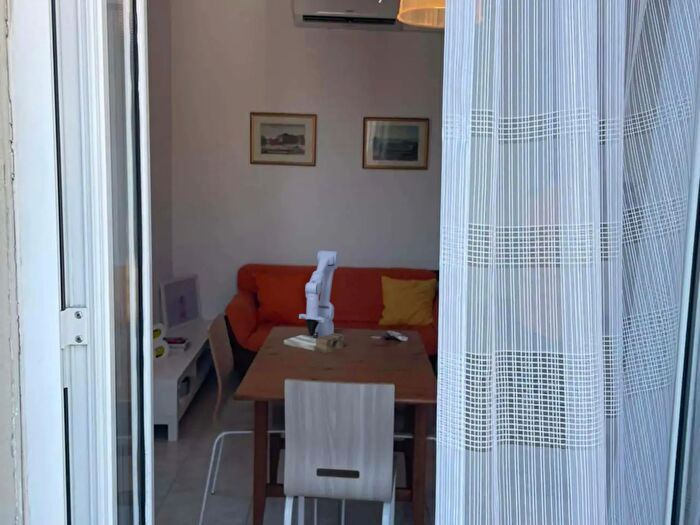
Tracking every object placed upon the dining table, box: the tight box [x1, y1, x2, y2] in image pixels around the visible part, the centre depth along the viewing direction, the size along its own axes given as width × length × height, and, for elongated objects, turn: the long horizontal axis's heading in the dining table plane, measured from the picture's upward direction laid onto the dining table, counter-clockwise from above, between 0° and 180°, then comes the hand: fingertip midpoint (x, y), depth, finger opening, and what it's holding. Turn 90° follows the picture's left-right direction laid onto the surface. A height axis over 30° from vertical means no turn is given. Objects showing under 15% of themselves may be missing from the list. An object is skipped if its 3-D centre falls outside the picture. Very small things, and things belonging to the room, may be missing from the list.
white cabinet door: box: [283, 332, 345, 354], centre depth 288 cm, size 14×25×6 cm, turn 56°
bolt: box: [312, 332, 319, 343], centre depth 285 cm, size 3×10×4 cm, turn 56°
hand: (311, 335), depth 289 cm, fingers closed
